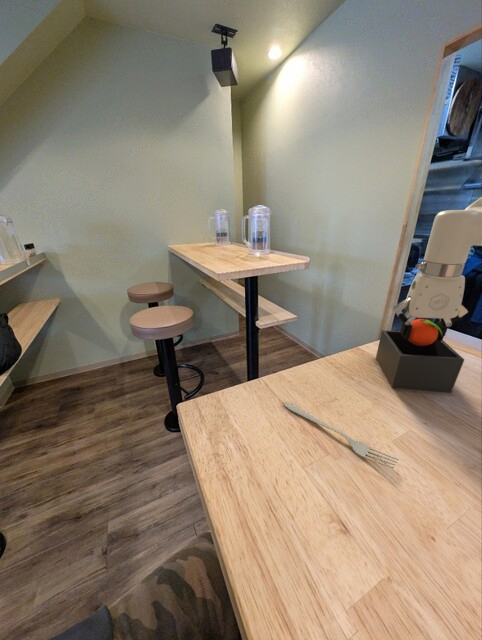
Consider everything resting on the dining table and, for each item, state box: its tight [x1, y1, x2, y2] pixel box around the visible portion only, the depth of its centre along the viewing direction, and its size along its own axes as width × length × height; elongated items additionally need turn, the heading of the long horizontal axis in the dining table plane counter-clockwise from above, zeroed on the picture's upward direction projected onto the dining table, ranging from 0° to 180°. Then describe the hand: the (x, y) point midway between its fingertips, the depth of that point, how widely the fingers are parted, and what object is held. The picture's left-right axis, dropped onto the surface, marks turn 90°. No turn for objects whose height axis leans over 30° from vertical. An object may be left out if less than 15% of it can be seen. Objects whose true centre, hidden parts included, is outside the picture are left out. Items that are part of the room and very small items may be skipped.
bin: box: [375, 329, 465, 393], centre depth 67 cm, size 14×14×10 cm
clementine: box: [408, 318, 442, 346], centre depth 64 cm, size 8×7×7 cm
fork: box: [283, 401, 399, 469], centre depth 53 cm, size 3×24×2 cm, turn 45°
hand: (420, 337), depth 64 cm, fingers closed on clementine, 7 cm apart
